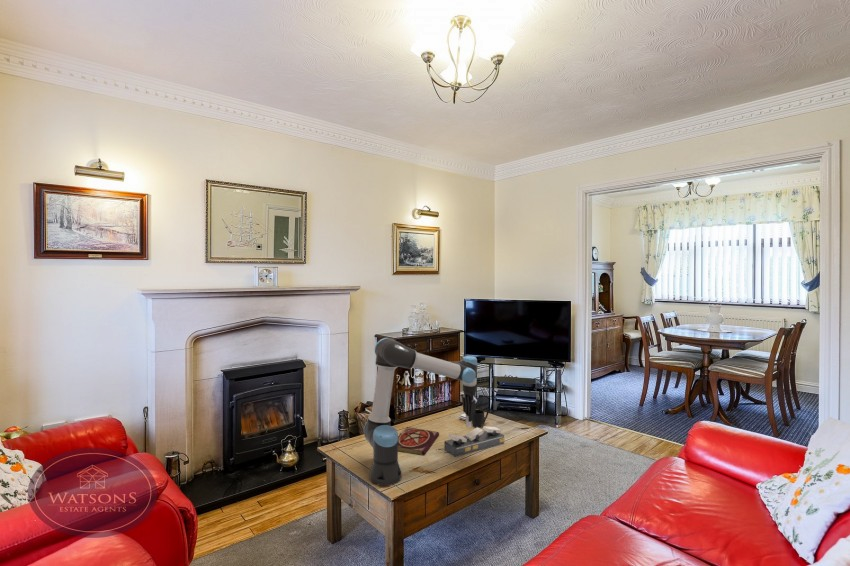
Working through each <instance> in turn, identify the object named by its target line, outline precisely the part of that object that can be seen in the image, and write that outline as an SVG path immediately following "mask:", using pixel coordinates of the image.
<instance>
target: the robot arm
mask: <svg viewBox="0 0 850 566" xmlns="http://www.w3.org/2000/svg"><path fill="white" fill-rule="evenodd" d="M374 353H375V356H376V357H375V366H376V367H377V372H376V379H375V387H374V393H373V399H372V408H371V414H369V415H368V417H367V421H366V422H365V424H364V427H363V434H364V435H363V436H364V438H365V440H366V441H367V442H368V443H369V444H370V446H371V447H372V450H373V456H372V457H373V462H372V465H371V469H370V472H369V481H370V482H371V481H372V482H371V483H373V484H374V483H375V485H377V484H379V485H378V486H391V485H390V484H392V485H394V483H395V484H397V483H399V482H400V481H401V480H402V470H401V467H400V464H399V459H398V458H399V457H398V456H399V452H398V436H399V435H398V434H399V433H398V430H397V429H396V427H394V426H392V425H391V421H392V420H391V418H390V417H389V415H390V413H389V412H390V406H391V399H392V392H393V385H394V384H393V383H394V376H395V370H396V369H397V368H398V367H400V368H403V369H409V370H411V369H418V370H421V371H425V372H428V373H432V374H435V375H439V376H444V377H447V378H451V379H455V380H458V381H462V391H463V394H460V397H461V400H462V403H461V404H462V410H463V411H462V412H463V413H465V428H472V426H473V423H472V416H473V415H475V411H476V409H477V407H478V405H477V404H478V403H479V400H478V399H477V398H476V393H477V381H478V378H477V377H478V375H477V374H478V359H477V357H476V356H472V355H466V356H464V357H463V360H457V361H456V360H455V361H447V360H444V359H441V358H437V357H434V356H430V355H427V354H424V353H421V352H417V350H415V349H413V348H410V347H409V346H406V345H404V344H402V343H400V342H399V341H397V340H395V339H394V338H390V337H384V338H381V339H380V340H378V341H377V343H376V344H375V346H374ZM400 479H401V480H400ZM398 481H399V482H398ZM396 482H397V483H396Z"/></svg>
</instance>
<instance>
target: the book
mask: <svg viewBox="0 0 850 566" xmlns="http://www.w3.org/2000/svg"><path fill="white" fill-rule="evenodd" d="M439 436H440V432H439V431H434V430H429V429H424V428H417V427H412V426H411V427H410V426H407V427H406V428H405V429H402V431H401V432H400V433H399V435H398V453H402V452H404V453H409V454H414V455H415V454H416V455H421V456H425V455H426V454H427V452H428V451H429V450H430V448H431V447H432V446H433V445H434V443H435V442H436V440H437V439H438V437H439Z"/></svg>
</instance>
